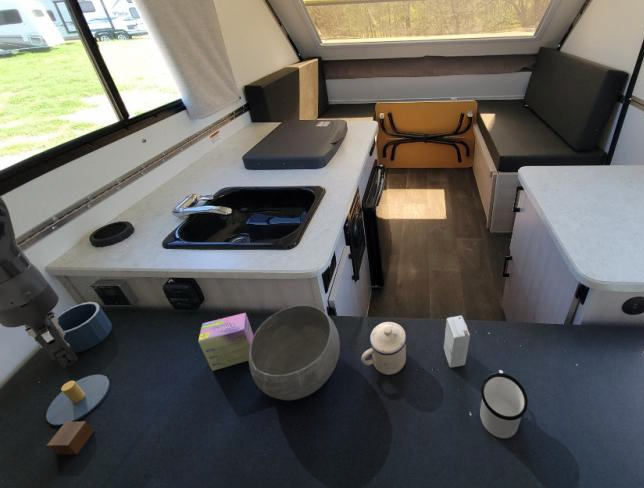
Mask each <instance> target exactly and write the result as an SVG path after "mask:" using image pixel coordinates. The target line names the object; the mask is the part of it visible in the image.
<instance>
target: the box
mask: <svg viewBox="0 0 644 488" xmlns="http://www.w3.org/2000/svg"><path fill="white" fill-rule="evenodd" d="M254 335H255V334H254V333H253V330H252V327H251V324H250V321H249V318H248V315H247V313H246V312H243V313H239V314H235V315H231V316H225V317H223V318H218V319H215V320H211V321H206V322H202V324H201V327H200V332H199V337H198V340H197V342H198V344H199V347H200V349H201V351H202V353H203V355H204V358H205V359H206V362H207V363H208V366H209V368H210V369H211V371H212V372H214V371H217V370H221V369H224V368H228V367H231V366H234V365H238V364H241V363H245V362H249V350H250V345H251V342H252V339H253V337H254Z"/></svg>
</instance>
